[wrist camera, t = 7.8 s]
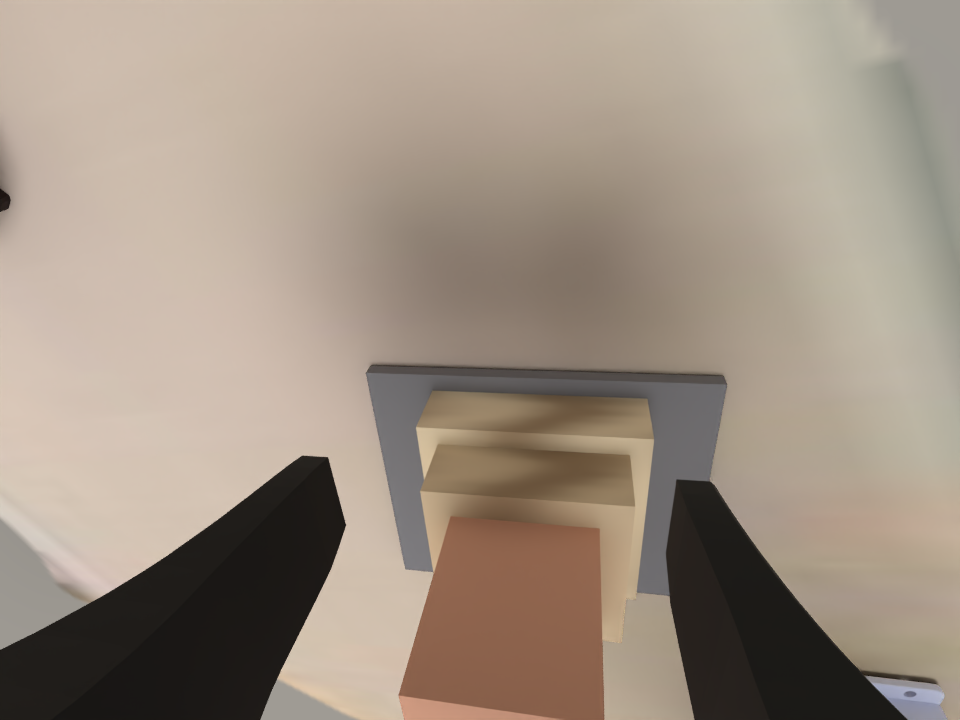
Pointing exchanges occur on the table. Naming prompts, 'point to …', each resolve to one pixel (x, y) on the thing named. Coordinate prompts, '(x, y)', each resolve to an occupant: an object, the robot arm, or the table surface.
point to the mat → (671, 398)
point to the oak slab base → (547, 435)
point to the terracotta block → (510, 626)
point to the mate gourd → (4, 201)
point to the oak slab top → (540, 503)
